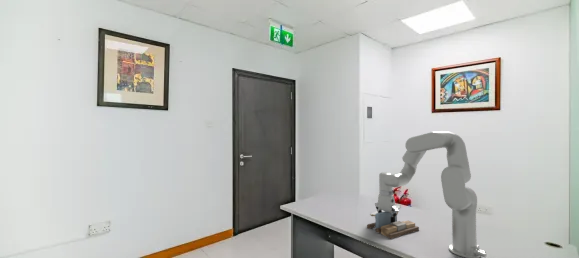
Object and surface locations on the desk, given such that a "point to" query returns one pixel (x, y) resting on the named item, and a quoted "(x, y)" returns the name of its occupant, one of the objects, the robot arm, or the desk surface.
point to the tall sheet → (383, 219)
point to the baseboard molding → (384, 211)
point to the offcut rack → (394, 232)
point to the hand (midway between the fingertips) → (386, 220)
